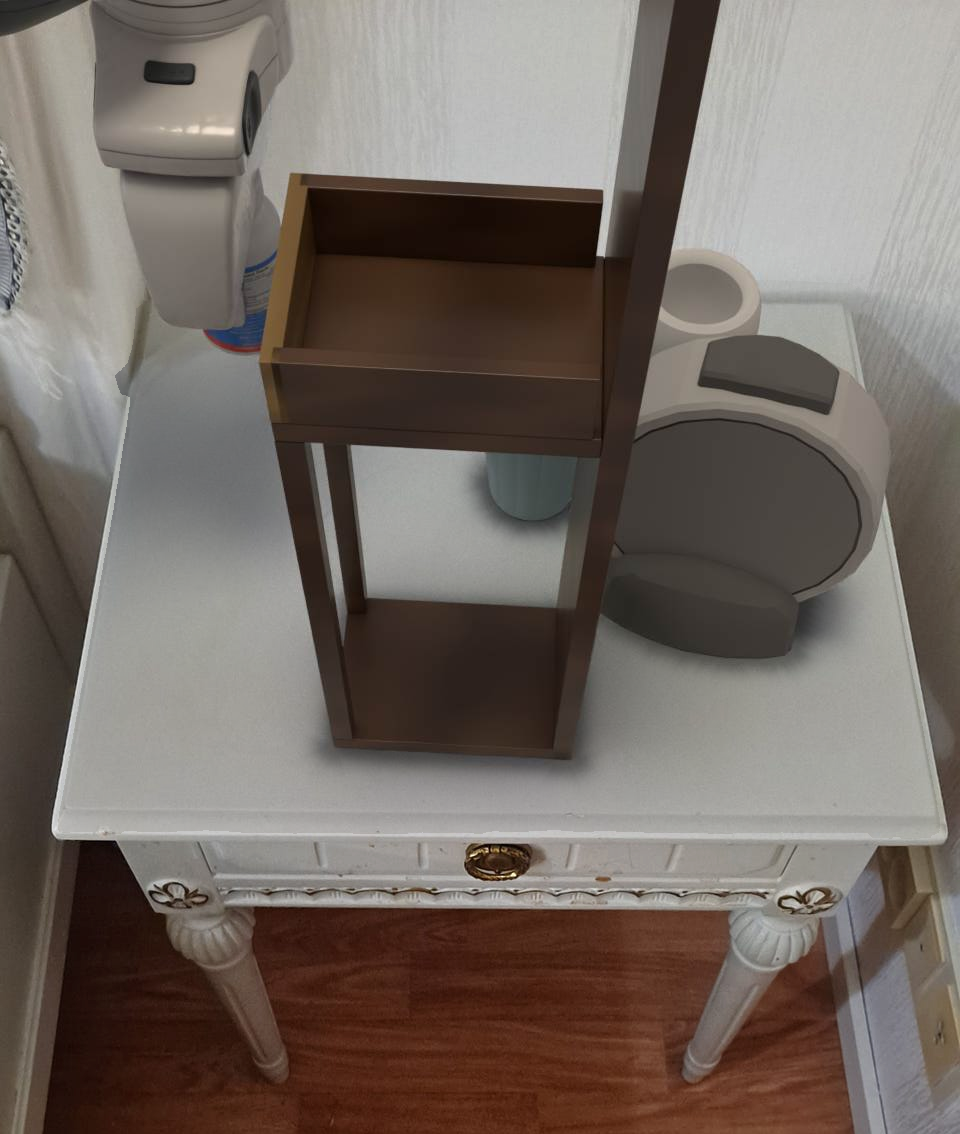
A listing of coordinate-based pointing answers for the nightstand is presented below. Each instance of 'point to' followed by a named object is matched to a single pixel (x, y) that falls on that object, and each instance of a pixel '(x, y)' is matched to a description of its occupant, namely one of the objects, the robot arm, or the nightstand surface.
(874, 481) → the alarm clock
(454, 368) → the rack
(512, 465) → the cup
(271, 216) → the pill bottle
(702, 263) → the mug
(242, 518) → the nightstand surface
